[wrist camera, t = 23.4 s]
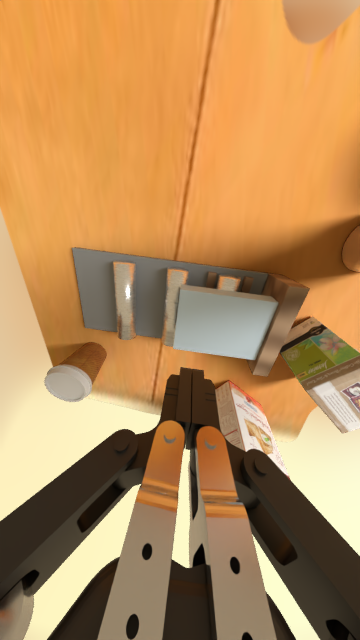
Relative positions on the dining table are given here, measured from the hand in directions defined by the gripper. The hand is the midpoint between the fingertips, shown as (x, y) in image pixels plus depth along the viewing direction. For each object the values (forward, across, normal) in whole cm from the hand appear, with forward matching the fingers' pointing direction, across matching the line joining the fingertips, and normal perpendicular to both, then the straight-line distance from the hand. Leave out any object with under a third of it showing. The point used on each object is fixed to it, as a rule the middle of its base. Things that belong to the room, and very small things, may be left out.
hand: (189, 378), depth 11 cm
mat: (+27, +5, +6) cm, 28 cm away
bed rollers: (+26, +8, +6) cm, 28 cm away
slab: (+22, -6, +6) cm, 23 cm away
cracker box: (+27, -18, +32) cm, 46 cm away
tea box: (+27, -29, +13) cm, 42 cm away
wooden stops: (+27, -10, +6) cm, 29 cm away
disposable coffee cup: (+27, +23, +23) cm, 42 cm away
